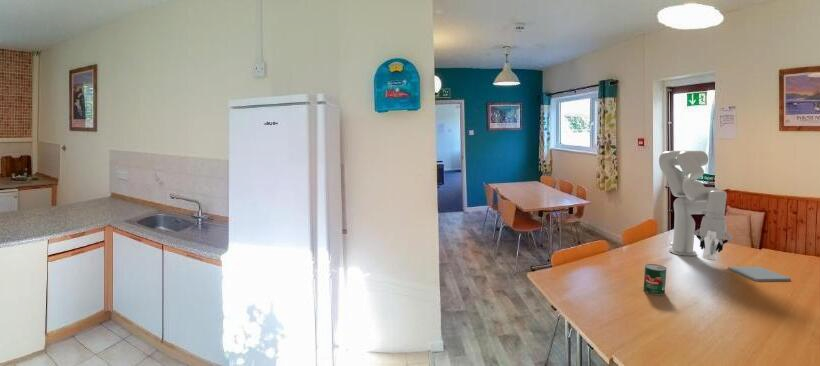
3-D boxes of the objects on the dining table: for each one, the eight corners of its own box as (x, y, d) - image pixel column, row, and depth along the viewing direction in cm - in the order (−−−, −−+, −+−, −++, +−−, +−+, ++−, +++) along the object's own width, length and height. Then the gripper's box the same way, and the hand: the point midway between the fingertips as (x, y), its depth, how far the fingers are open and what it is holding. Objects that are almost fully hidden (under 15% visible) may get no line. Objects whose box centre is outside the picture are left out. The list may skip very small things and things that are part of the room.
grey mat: (727, 269, 199) (727, 267, 198) (759, 268, 199) (760, 266, 199) (755, 281, 183) (755, 279, 183) (790, 280, 183) (790, 278, 183)
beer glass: (712, 256, 205) (716, 227, 203) (721, 261, 199) (725, 231, 196) (698, 255, 206) (701, 227, 204) (706, 260, 199) (710, 231, 197)
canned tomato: (645, 294, 170) (646, 268, 169) (641, 287, 178) (643, 263, 176) (666, 296, 168) (668, 270, 166) (662, 289, 175) (664, 265, 174)
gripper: (692, 213, 202) (688, 248, 205) (736, 219, 190) (731, 256, 193) (695, 211, 207) (691, 244, 210) (738, 216, 195) (733, 252, 198)
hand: (710, 249), depth 202 cm, fingers closed on beer glass, 6 cm apart
